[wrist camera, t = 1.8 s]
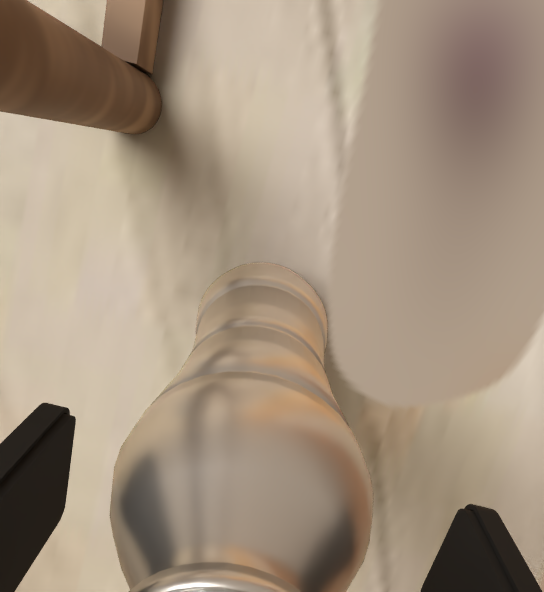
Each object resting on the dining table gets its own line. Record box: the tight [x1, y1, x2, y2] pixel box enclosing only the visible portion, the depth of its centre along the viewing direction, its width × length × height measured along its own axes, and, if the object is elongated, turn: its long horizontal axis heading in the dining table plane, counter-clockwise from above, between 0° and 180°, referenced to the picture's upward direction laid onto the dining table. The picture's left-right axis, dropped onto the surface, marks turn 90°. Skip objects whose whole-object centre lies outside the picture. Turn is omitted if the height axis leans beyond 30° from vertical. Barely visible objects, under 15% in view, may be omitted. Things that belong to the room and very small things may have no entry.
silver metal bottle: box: [110, 263, 374, 592], centre depth 16 cm, size 6×7×20 cm
